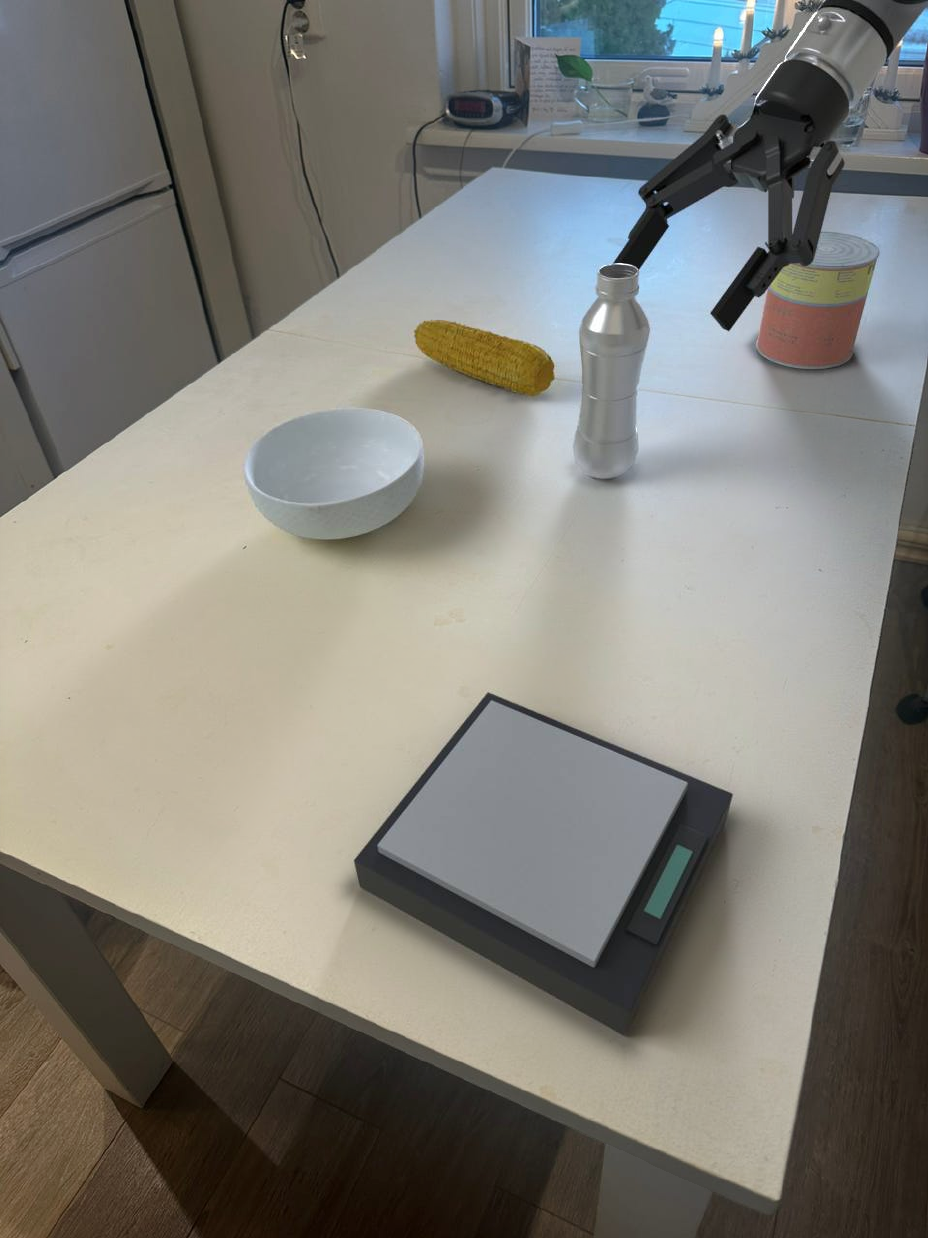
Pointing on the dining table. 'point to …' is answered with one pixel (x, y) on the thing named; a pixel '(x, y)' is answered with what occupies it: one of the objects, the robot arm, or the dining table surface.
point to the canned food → (818, 305)
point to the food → (487, 356)
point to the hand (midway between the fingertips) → (666, 298)
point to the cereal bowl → (335, 472)
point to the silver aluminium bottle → (611, 374)
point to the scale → (549, 855)
